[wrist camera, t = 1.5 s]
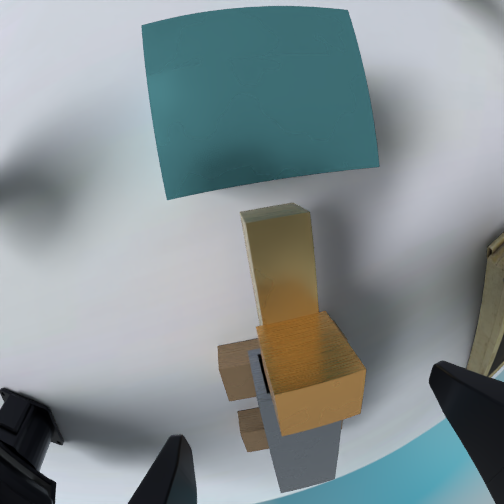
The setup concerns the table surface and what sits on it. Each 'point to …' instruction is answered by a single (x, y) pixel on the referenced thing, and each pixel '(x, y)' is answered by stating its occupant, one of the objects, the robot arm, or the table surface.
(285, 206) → the yellow sliding bolt
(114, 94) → the table surface
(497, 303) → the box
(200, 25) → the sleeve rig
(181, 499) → the robot arm
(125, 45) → the table surface
